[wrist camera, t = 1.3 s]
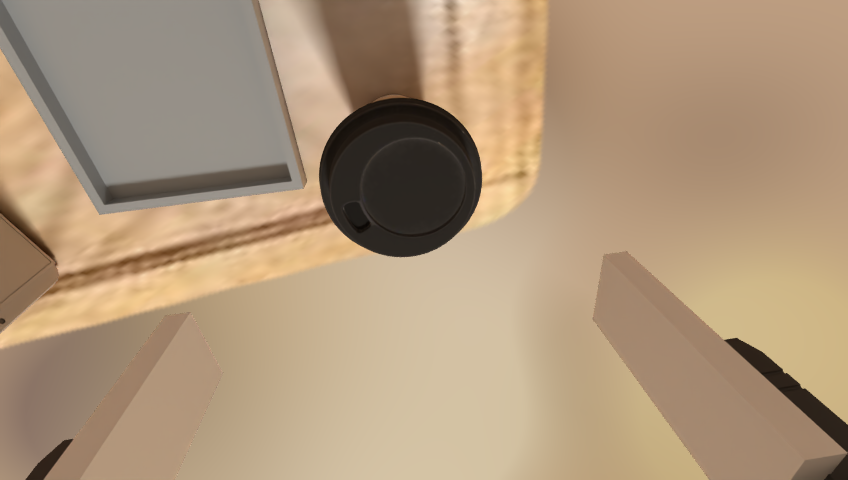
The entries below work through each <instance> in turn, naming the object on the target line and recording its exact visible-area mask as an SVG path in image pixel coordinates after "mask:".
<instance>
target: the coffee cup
mask: <svg viewBox="0 0 848 480" xmlns="http://www.w3.org/2000/svg"><path fill="white" fill-rule="evenodd" d="M319 182H320V189H321V195H322V199H323V202H324V205H325V208H326V210H327V212H328V214H329V216H330V218H331V219H332V221H333V222H334V223H335V225H336V226H337V227H338V228H339V230H340V231H341V232H342V233H343V234H344V235H346V236H347V237H348V238H349V239H351V240H352V241H353V242H355V243H357V244H358V245H360V246H362V247H364V248H366V249H368V250H370V251H373V252H375V253H378V254H382V255H386V256H392V257H411V256H417V255H421V254H425V253H428V252H430V251H433V250H435V249H437V248H439V247H441V246H442V245H444V244H445V243H447V242H448V241H449V240H451V239H452V238H453V237H454V236H455V235H456V234H457V233H459V231H460V230H461V229H462V228H463V227H464V226H465V225H466V224H467V222H468V221H469V219H470V218H471V216H472V214H473V213H474V211H475V208H476V206H477V204H478V201H479V197H480V193H481V187H482V170H481V162H480V157H479V153H478V150H477V148H476V145H475V143H474V141H473V139H472V137H471V135H470V134H469V132H468V131H467V130H466V128H465V127H464V126H463V125H462V124H461V123H460V122H459V121H458V120H457V119H456V118H455V117H454V116H453V115H451V114H450V113H449V112H447V111H446V110H444V109H442V108H440V107H439V106H437V105H434V104H432V103H429V102H426V101H423V100H418V99H412V98H408V97H405V96H402V95H397V94H395V95H386V96H383V97H380V98H378V99H376V100H375V101H373V102H372V103H370V104H368V105H365V106H363V107H361V108H359V109H358V110H356V111H355V112H353V113H352V114H350V115H349V116H348V117H347V118H345V119H344V120H343V121H342V122H341V123H340V124H339V125H338V127H337V128H336V129H335V130H334V132H333V133H332V134H331V136H330V138H329V140H328V141H327V143H326V146H325V148H324V151H323V154H322V157H321V161H320V169H319Z"/></svg>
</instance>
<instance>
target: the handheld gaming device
mask: <svg viewBox="0 0 848 480" xmlns="http://www.w3.org/2000/svg"><path fill="white" fill-rule="evenodd" d="M55 264H56V262H55V261H54V260H52V259H51V258H50V257H49V256H48V255H47V254H46V253H45V252H43V251H42V250H41V249H40V248H39V247H38V246H37V245H35V244H34V243H33V242H32V241H31V240H30V239H29V238H28V237H26V236H25V235H24V234H23V233H22V232H21V231H20V230H19V229H17V228H16V227H15V226H14V225H13V224H12V223H11V222H10V221H8V220H7V219H6V218H5V217H4V216H3V215H2V214H1V213H0V333H1V332H2V331H4V330H5V329H6V328H7V327H8V326H9V325H10V324H11V323H12V322H13V321H15V320H16V319H17V318H18V317H19V316H20V315H21V314H22V313H23V312H24V311H26V310H27V309H28V308H29V307H30V306H31V305H32V304H33V303H34V302H35V301H36V300H38V299H39V298H40V297H41V296H42V295H43V294H44V293H45V292H46V291H47V290H49V289H50V288H51V287H52V286H53V285H54V284H55V283H56V281H57V280H58V276H59V274H58V269H57V268H56V266H55Z"/></svg>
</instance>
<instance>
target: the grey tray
mask: <svg viewBox="0 0 848 480" xmlns="http://www.w3.org/2000/svg"><path fill="white" fill-rule="evenodd" d="M0 49H1V50H2V52H3V54H4V55H5V57H6V59H7V60H8V62H9V64H10V65H11V67H12V69H13V70H14V72H15V74H16V75H17V77H18V79H19V81H20V82H21V84H22V86H23V87H24V89H25V91H26V92H27V94H28V96H29V97H30V99H31V101H32V102H33V104H34V106H35V107H36V109H37V111H38V112H39V114H40V116H41V117H42V119H43V121H44V122H45V124H46V126H47V127H48V129H49V131H50V132H51V134H52V136H53V137H54V139H55V141H56V143H57V144H58V146H59V148H60V149H61V151H62V153H63V154H64V156H65V158H66V159H67V161H68V163H69V164H70V166H71V168H72V169H73V171H74V173H75V174H76V176H77V178H78V179H79V181H80V183H81V184H82V186H83V188H84V189H85V191H86V193H87V194H88V196H89V198H90V200H91V201H92V203H93V205H94V206H95V208H96V210H97V211H98V213H99V215H101V214H109V213H117V212H125V211H132V210H140V209H148V208H156V207H164V206H172V205H179V204H187V203H195V202H203V201H211V200H219V199H227V198H234V197H242V196H250V195H258V194H266V193H274V192H281V191H289V190H297V189H304V187H305V185H306V183H307V179H306V175H305V172H304V168H303V164H302V161H301V157H300V153H299V149H298V146H297V142H296V138H295V135H294V131H293V127H292V123H291V120H290V116H289V112H288V109H287V105H286V101H285V97H284V94H283V90H282V86H281V83H280V79H279V75H278V71H277V68H276V64H275V60H274V57H273V53H272V49H271V46H270V42H269V38H268V34H267V31H266V27H265V23H264V20H263V16H262V12H261V8H260V5H259V1H258V0H0Z"/></svg>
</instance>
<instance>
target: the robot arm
mask: <svg viewBox="0 0 848 480" xmlns="http://www.w3.org/2000/svg"><path fill="white" fill-rule="evenodd" d="M593 320H594V322H595V323H596V324H597V326H598V327H599V328H600V330H601V331H602V332H603V334H604V335H605V337H606V338H607V340H608V341H609V342H610V344H611V345H612V346H613V348H614V349H615V350H616V352H617V353H618V355H619V356H620V357H621V359H622V360H623V362H624V363H625V364H626V366H627V367H628V368H629V370H630V371H631V372H632V374H633V375H634V377H635V378H636V379H637V381H638V382H639V384H640V385H641V386H642V388H643V389H644V390H645V392H646V393H647V395H648V396H649V397H650V399H651V400H652V401H653V403H654V404H655V406H656V407H657V408H658V410H659V411H660V412H661V414H662V415H663V417H664V418H665V419H666V421H667V422H668V423H669V425H670V426H671V427H672V429H673V430H674V432H675V433H676V434H677V436H678V437H679V439H680V440H681V441H682V443H683V444H684V446H685V447H686V448H687V450H688V451H689V452H690V454H691V455H692V457H693V458H694V459H695V461H696V462H697V463H698V465H699V466H700V468H701V469H702V470H703V472H704V473H705V474H706V476H707V477H708V479H709V480H848V425H847V424H846V423H845V422H844V421H842V420H841V419H840V418H839V417H838V416H837V415H835V414H834V413H833V412H832V411H831V410H830V409H829V408H827V407H826V406H825V405H824V404H823V403H821V402H820V401H819V400H818V399H817V398H816V397H814V396H813V395H812V394H811V393H810V392H808V391H807V390H806V389H802V388H801V386H800V384H799V383H798V382H797V381H796V380H794V379H793V378H792V377H791V376H790V375H789V374H787V373H786V374H785V373H784V372H783V369H782V368H780V367H779V366H778V365H777V364H775V363H774V362H773V361H772V360H771V359H770V358H769V357H767V356H766V355H765V354H764V353H763V352H761V351H759V350H758V349H756V348H754V347H752V346H750V345H749V344H747V343H745V342H743V341H741V340H739V339H738V338H733V339H727V340H723V339H722V338H721V337H720V336H719V335H718V334H717V333H715V331H713V330H712V329H711V328H710V327H709V326H708V325H706V323H705V322H704V321H702V320H701V319H700V318H699V317H698V316H697V315H696V314H695V313H694V312H693V311H692V310H690V309H689V308H688V307H687V306H686V305H684V303H683V302H682V301H680V300H679V299H678V298H677V297H676V296H675V295H674V294H673V293H672V292H671V291H669V290H668V289H667V288H666V287H665V286H664V285H663V284H662V283H661V282H660V281H659V280H658V279H656V278H655V277H654V276H653V275H652V274H651V273H650V272H649V271H648V270H647V269H645V268H644V267H643V266H642V265H641V264H640V263H639V262H638V261H637V260H635V258H633V257H632V256H631V255H630V254H629V253H628V252H627V251H626V252H619V253H612V254H605V255H604V256H603V262H602V268H601V273H600V280H599V285H598V291H597V297H596V303H595V308H594V314H593ZM222 374H223V372H222V370H221V368H220V366H219V365H218V362H217V361H216V359H215V357H214V355H213V353H212V351H211V349H210V348H209V346H208V344H207V342H206V340H205V338H204V336H203V334H202V333H201V331H200V329H199V327H198V325H197V323H196V321H195V319H194V317H193V316H192V314H191V312H187V313H180V314H173V315H166V316H165V317H164V318H163V319H162V321H161V322H160V323H159V325H158V326H157V327H156V329H155V330H154V331H153V333H152V334H151V336H150V337H149V338H148V340H147V341H146V342H145V344H144V345H143V346H142V348H141V349H140V350H139V352H138V353H137V354H136V356H135V357H134V359H133V360H132V361H131V362H130V364H129V365H128V367H127V368H126V369H125V371H124V372H123V373H122V375H121V376H120V377H119V379H118V380H117V381H116V383H115V384H114V386H113V387H112V388H111V390H110V391H109V392H108V394H107V395H106V396H105V398H104V399H103V400H102V402H101V403H100V404H99V406H98V407H97V408H96V410H95V411H94V413H93V414H92V415H91V416H90V418H89V419H88V420H87V422H86V423H85V425H84V426H83V427H82V429H81V430H80V431H79V433H78V434H77V435H76V437H75V438H74V439H70V440H64V441H63V442H62V443H61V444H60V445H58V446H57V447H56V448H55V449H54V450H53V451H52V452H50V453H49V454H48V455H47V456H46V457H45V458H44V459H43V460H41V461H40V463H38V464H37V466H36V467H35V468H34V469H33V471H32V472H31V473H30V475H29V476H28V477H27V478H26V480H175V478H176V476H177V474H178V472H179V469H180V467H181V465H182V463H183V461H184V458H185V456H186V454H187V452H188V449H189V447H190V445H191V443H192V440H193V438H194V436H195V434H196V432H197V430H198V427H199V425H200V423H201V421H202V419H203V416H204V414H205V412H206V410H207V407H208V405H209V403H210V401H211V399H212V396H213V394H214V392H215V390H216V388H217V385H218V383H219V381H220V379H221V376H222Z"/></svg>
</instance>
